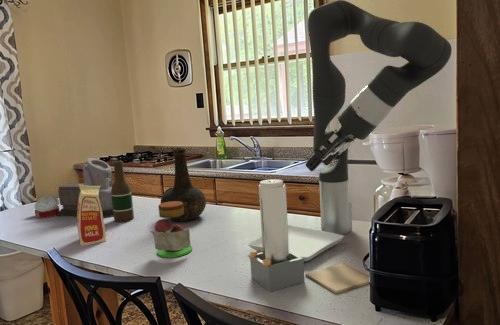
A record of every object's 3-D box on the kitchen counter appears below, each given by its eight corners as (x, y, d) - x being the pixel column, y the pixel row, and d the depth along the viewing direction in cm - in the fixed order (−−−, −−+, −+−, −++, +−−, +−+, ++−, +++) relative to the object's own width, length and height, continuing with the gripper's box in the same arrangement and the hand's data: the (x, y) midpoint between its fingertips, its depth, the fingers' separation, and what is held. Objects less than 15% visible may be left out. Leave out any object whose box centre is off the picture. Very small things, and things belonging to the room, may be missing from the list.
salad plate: (307, 269, 111) (307, 256, 111) (246, 253, 125) (245, 242, 125) (346, 245, 127) (345, 234, 127) (288, 234, 141) (287, 224, 140)
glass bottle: (180, 211, 179) (174, 145, 175) (216, 214, 171) (210, 145, 167) (152, 222, 164) (145, 151, 160) (189, 226, 156) (183, 151, 152)
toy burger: (152, 248, 134) (147, 202, 132) (192, 243, 137) (188, 197, 135) (152, 261, 123) (147, 211, 121) (195, 255, 125) (191, 206, 123)
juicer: (133, 208, 189) (127, 154, 186) (112, 218, 174) (106, 160, 170) (76, 208, 197) (69, 156, 194) (51, 217, 182) (44, 161, 179)
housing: (284, 269, 111) (282, 242, 110) (304, 281, 103) (303, 253, 102) (249, 278, 107) (247, 250, 106) (268, 292, 98) (266, 262, 97)
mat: (343, 265, 111) (343, 263, 111) (376, 281, 101) (376, 278, 101) (305, 275, 106) (305, 273, 106) (335, 293, 95) (335, 291, 95)
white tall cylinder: (289, 285, 101) (283, 183, 97) (262, 285, 102) (256, 183, 99) (291, 274, 107) (287, 177, 104) (266, 274, 109) (260, 178, 105)
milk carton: (81, 246, 141) (73, 187, 138) (78, 239, 149) (71, 183, 146) (109, 240, 145) (102, 183, 142) (105, 233, 153) (98, 179, 150)
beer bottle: (110, 222, 169) (103, 162, 165) (122, 216, 176) (116, 159, 172) (125, 223, 166) (119, 162, 162) (138, 217, 173) (132, 159, 169)
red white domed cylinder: (61, 222, 191) (68, 203, 188) (42, 227, 181) (49, 207, 179) (45, 210, 195) (51, 191, 192) (26, 213, 185) (32, 194, 183)
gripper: (362, 99, 95) (317, 150, 103) (341, 100, 83) (291, 157, 91) (387, 122, 93) (338, 172, 101) (368, 126, 81) (315, 183, 89)
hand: (316, 165), depth 96 cm, fingers open, 8 cm apart
